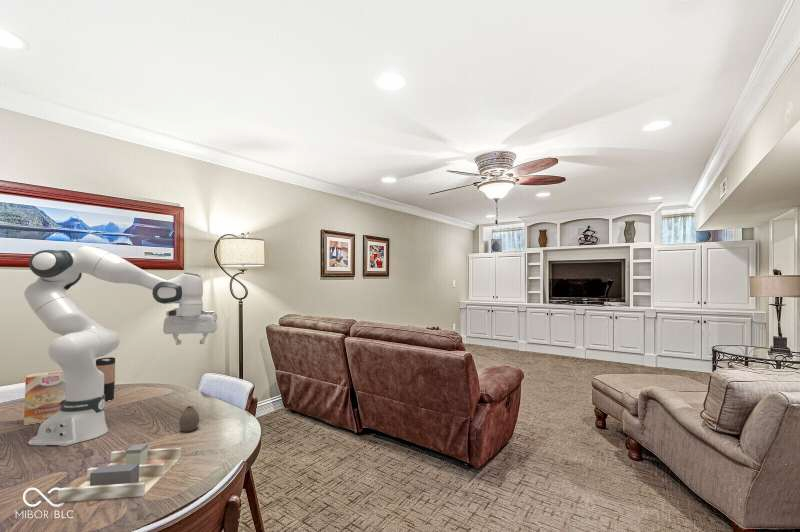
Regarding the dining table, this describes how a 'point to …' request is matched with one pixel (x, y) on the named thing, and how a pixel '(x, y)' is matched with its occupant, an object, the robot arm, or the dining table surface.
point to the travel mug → (107, 375)
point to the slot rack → (148, 476)
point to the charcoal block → (115, 475)
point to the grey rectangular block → (137, 454)
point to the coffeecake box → (43, 395)
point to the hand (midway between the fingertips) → (190, 344)
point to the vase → (189, 419)
